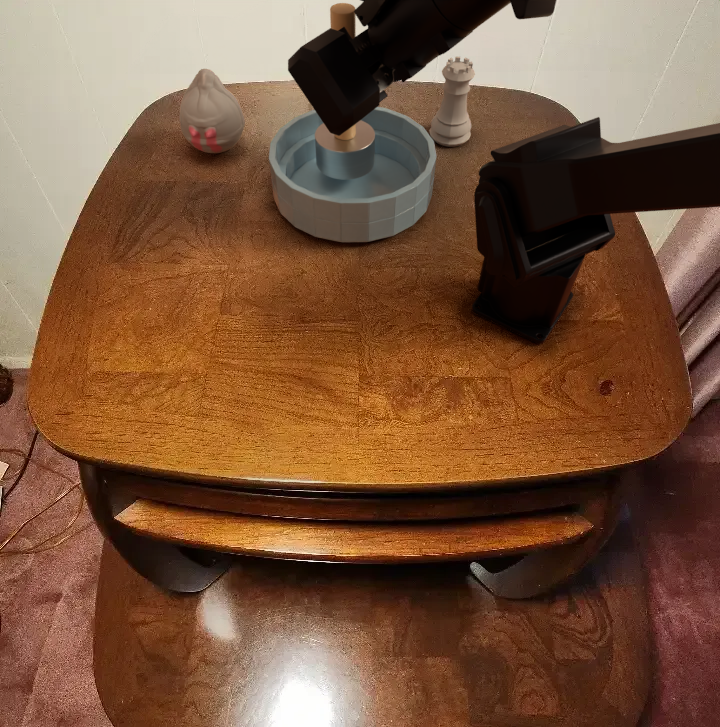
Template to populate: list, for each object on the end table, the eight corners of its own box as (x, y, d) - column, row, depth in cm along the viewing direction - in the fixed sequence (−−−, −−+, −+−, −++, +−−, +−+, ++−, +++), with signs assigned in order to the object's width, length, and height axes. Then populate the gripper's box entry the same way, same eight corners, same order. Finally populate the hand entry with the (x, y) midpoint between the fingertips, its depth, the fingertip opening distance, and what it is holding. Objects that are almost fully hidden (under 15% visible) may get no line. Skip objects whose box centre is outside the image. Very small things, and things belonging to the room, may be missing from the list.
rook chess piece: (469, 150, 65) (481, 76, 59) (426, 146, 65) (434, 72, 59) (471, 126, 68) (483, 53, 61) (430, 123, 68) (438, 49, 62)
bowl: (458, 182, 62) (465, 137, 58) (374, 270, 54) (376, 226, 50) (334, 132, 67) (333, 87, 63) (242, 206, 59) (234, 161, 55)
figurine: (176, 165, 63) (156, 90, 57) (196, 126, 67) (180, 53, 61) (238, 171, 63) (225, 96, 56) (255, 132, 67) (244, 58, 60)
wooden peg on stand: (385, 158, 60) (392, 4, 49) (352, 187, 57) (351, 31, 46) (339, 138, 62) (335, -14, 51) (304, 166, 59) (292, 11, 48)
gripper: (461, -163, 44) (340, -30, 57) (299, -89, 35) (197, 51, 48) (536, -16, 48) (407, 79, 61) (406, 87, 39) (285, 174, 51)
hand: (331, 92), depth 55 cm, fingers closed on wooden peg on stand
